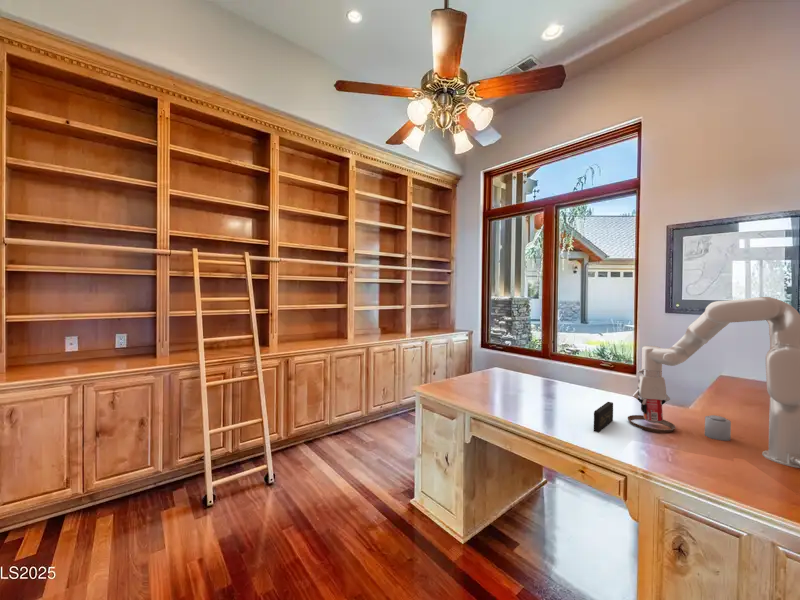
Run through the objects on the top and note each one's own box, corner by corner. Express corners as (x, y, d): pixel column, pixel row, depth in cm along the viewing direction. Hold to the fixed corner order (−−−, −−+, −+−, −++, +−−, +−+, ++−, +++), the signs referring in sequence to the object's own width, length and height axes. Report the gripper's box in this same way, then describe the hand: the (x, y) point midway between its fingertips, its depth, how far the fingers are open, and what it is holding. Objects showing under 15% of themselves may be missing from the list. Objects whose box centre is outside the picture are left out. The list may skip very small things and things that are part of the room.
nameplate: (608, 422, 164) (608, 401, 164) (612, 423, 162) (613, 402, 162) (593, 434, 149) (593, 411, 149) (598, 435, 148) (598, 412, 148)
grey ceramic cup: (735, 443, 141) (735, 421, 140) (711, 440, 143) (711, 419, 143) (723, 435, 148) (723, 415, 148) (700, 433, 151) (701, 413, 150)
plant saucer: (673, 426, 160) (673, 419, 160) (677, 439, 145) (677, 432, 145) (627, 418, 170) (627, 412, 170) (627, 430, 155) (627, 423, 155)
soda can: (665, 424, 154) (664, 394, 154) (647, 423, 156) (646, 394, 156) (658, 418, 161) (657, 390, 160) (640, 417, 163) (640, 390, 162)
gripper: (633, 373, 156) (632, 414, 156) (677, 376, 151) (676, 418, 152) (627, 370, 163) (626, 408, 164) (669, 372, 158) (668, 412, 159)
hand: (650, 412), depth 158 cm, fingers open, 4 cm apart
